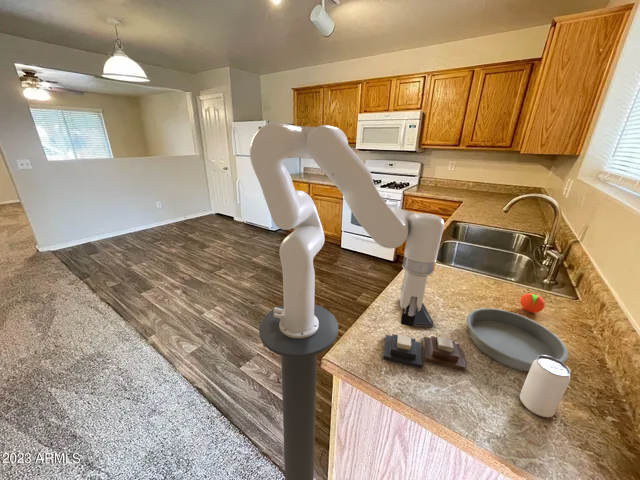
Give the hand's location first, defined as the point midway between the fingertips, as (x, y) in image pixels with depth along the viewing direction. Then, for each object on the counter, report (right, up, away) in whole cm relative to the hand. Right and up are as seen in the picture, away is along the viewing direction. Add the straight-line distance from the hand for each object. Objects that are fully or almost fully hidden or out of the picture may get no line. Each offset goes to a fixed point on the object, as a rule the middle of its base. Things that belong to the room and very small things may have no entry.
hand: (406, 323), depth 72 cm
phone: (+10, -3, +21) cm, 23 cm away
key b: (+11, -7, +2) cm, 14 cm away
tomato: (+52, -3, +24) cm, 58 cm away
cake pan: (+34, -9, +8) cm, 35 cm away
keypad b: (+11, -10, +3) cm, 15 cm away
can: (+26, -15, -11) cm, 32 cm away
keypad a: (0, -9, +3) cm, 10 cm away
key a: (0, -7, +2) cm, 7 cm away
